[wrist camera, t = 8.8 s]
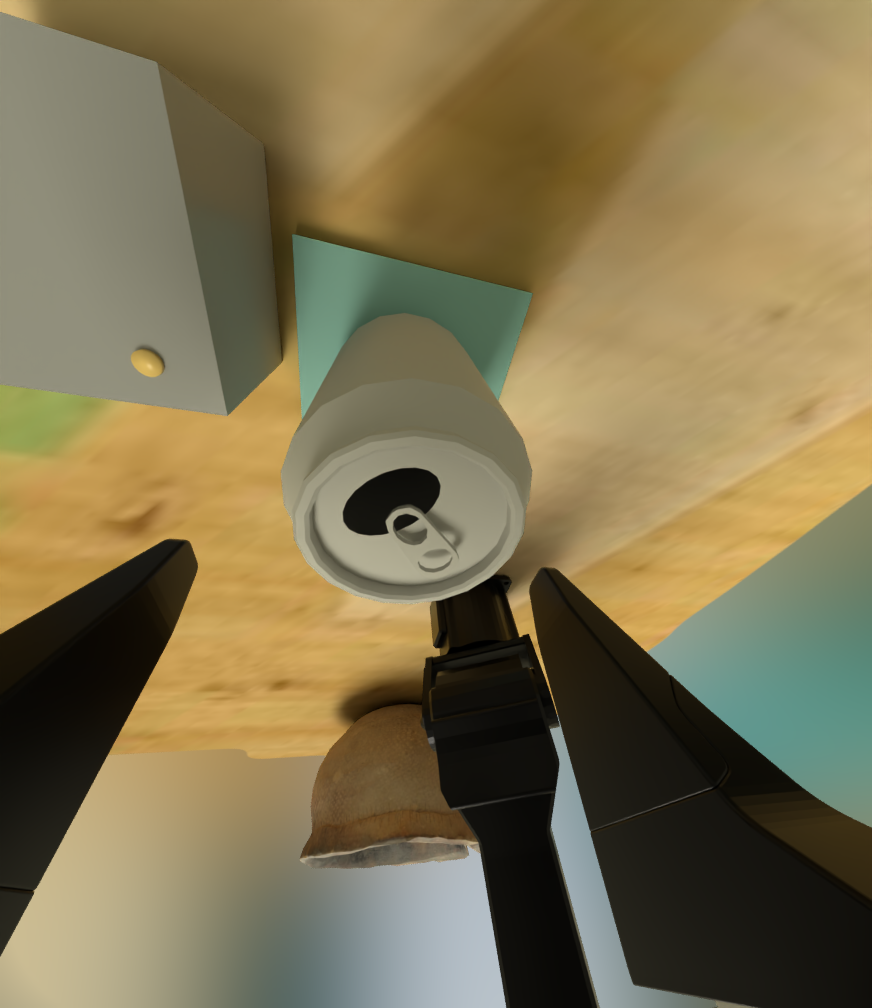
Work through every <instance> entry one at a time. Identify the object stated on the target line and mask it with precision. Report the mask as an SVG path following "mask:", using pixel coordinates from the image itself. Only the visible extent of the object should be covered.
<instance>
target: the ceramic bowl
mask: <svg viewBox="0 0 872 1008" xmlns="http://www.w3.org/2000/svg"><path fill="white" fill-rule="evenodd" d="M421 713H422V705H415V704H400V705H393V706H387V707H383V708H380V709H377V710H375V711H372V712H370V713H368V714H366V715H364V716H363V717H361V718H360V719H359V720H357V721H356V722H355V723H354V724H353V725H352V726H351V727H350V728H349V729H348V730H347V732H346V733H345V734H344V735H343V736H342V737H341V738H340V739H339V740H338V741H337V742H336V743H335V744H334V745H333V746H332V748H331V749H330V750H329V752H328V754H327V755H326V757H325V759H324V761H323V763H322V764H321V766H320V768H319V771H318V774H317V777H316V780H315V784H314V787H313V793H312V802H311V816H312V834H311V836H310V838H309V840H308V841H307V843H306V845H305V847H304V848H303V851H302V854H301V857H300V862H303V863H305V864H306V865H309V866H311V867H312V868H343V869H345V868H346V869H351V868H370V867H374V866H380V865H394V866H400V865H407V864H416V863H425V862H429V861H437V862H442V861H447V860H457V859H463V858H466V857H467V856H468V855H469V853H468V849H467V846H469V847H470V848H472V849H474V850H475V851H477V852H479V853H480V848H479V843H478V841H477V839H476V838H475V836H474V835H473V833H472V832H471V830H470V828H469V827H468V825H467V824H466V822H465V821H464V819H463V818H462V816H461V814H460V813H459V811H458V810H453V811H452V810H451V809H450V808H449V806H448V804H447V802H446V800H445V798H444V796H443V794H442V792H441V789H440V779H439V768H438V760H437V754H436V752H434V751H433V750H432V749H431V747H430V745H429V742H428V738H427V734H426V731H425V730H424V729H423V728H422V727H421V724H420V718H421Z"/></svg>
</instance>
